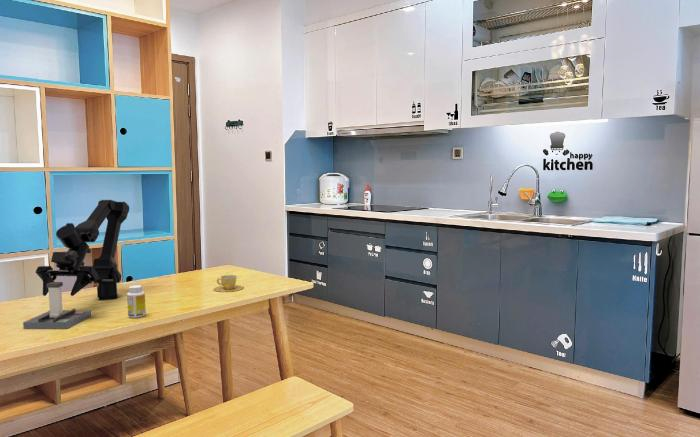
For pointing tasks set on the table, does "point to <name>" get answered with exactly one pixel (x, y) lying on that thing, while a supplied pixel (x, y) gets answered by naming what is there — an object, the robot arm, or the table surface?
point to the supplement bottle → (136, 302)
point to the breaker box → (57, 320)
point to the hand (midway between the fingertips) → (57, 295)
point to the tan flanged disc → (228, 283)
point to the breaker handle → (55, 298)
